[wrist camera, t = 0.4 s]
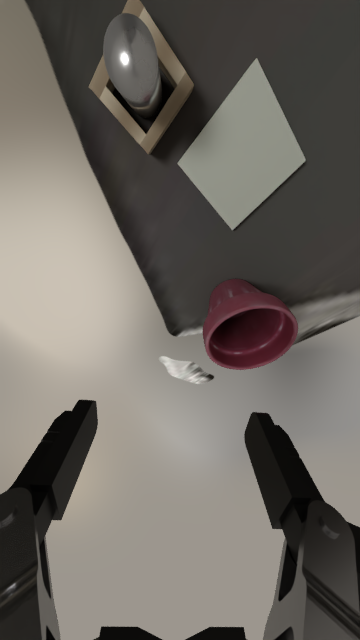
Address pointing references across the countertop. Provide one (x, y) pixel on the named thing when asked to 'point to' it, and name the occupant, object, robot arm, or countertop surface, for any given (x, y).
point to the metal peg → (133, 63)
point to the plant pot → (246, 326)
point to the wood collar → (168, 66)
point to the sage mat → (243, 149)
